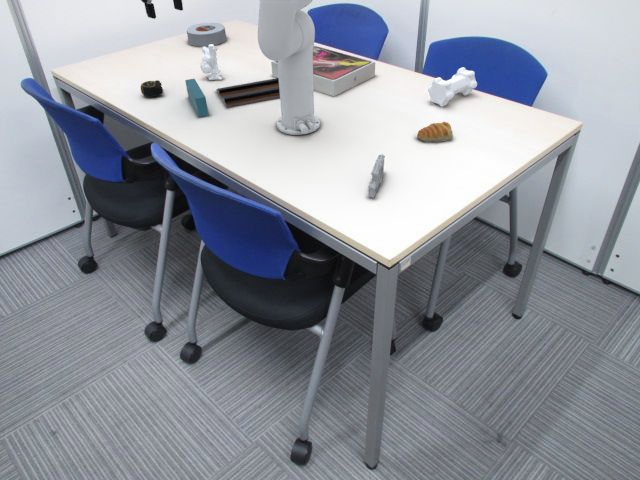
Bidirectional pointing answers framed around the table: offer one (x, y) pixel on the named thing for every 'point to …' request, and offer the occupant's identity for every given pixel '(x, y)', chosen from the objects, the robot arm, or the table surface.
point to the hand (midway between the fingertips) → (165, 13)
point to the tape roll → (206, 34)
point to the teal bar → (197, 98)
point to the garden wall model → (376, 175)
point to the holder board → (249, 92)
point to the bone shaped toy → (452, 86)
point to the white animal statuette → (210, 62)
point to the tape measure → (151, 88)
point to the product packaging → (336, 71)
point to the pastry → (436, 132)
